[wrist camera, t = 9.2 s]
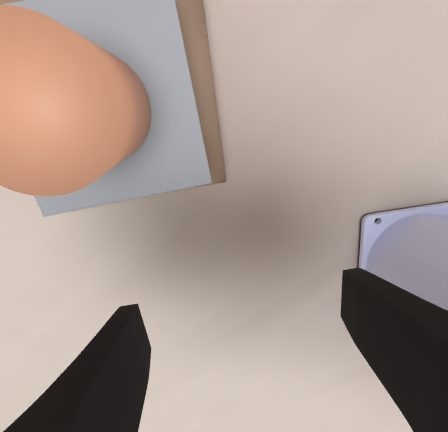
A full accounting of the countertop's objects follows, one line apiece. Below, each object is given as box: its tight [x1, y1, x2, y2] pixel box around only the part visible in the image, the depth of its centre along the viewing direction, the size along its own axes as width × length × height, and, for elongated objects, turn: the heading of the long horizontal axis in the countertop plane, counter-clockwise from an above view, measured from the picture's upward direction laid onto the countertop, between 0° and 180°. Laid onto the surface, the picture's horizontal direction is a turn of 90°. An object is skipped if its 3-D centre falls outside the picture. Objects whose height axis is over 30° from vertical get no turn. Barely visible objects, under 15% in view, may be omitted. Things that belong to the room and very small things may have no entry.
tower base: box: [0, 0, 226, 187], centre depth 16 cm, size 10×10×3 cm
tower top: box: [2, 0, 212, 217], centre depth 13 cm, size 8×8×3 cm
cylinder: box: [0, 5, 151, 196], centre depth 9 cm, size 4×4×5 cm
